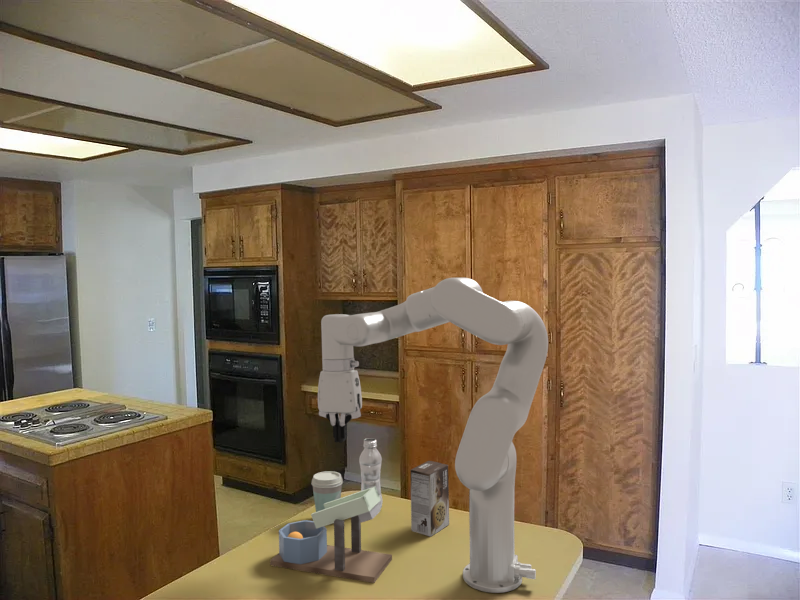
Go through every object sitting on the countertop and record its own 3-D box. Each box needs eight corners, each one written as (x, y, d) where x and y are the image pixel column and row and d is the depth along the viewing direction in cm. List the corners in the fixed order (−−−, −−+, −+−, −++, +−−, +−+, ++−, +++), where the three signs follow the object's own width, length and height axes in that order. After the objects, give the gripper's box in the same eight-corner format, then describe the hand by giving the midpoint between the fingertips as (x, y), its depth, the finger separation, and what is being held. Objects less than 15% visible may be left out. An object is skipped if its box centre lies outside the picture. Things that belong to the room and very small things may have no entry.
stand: (392, 559, 136) (391, 508, 135) (374, 582, 125) (373, 527, 125) (294, 544, 144) (293, 496, 144) (270, 565, 134) (269, 513, 133)
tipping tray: (393, 498, 139) (384, 477, 140) (372, 520, 127) (363, 496, 128) (343, 515, 144) (335, 494, 144) (319, 537, 132) (310, 514, 132)
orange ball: (291, 543, 140) (306, 547, 139) (282, 551, 137) (297, 554, 135) (292, 527, 140) (306, 530, 139) (283, 534, 136) (298, 537, 135)
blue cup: (332, 546, 140) (332, 523, 140) (312, 566, 131) (312, 541, 130) (294, 540, 144) (294, 518, 143) (272, 559, 134) (271, 535, 134)
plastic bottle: (357, 515, 162) (355, 443, 161) (362, 505, 169) (361, 436, 168) (380, 516, 161) (379, 443, 160) (384, 506, 168) (383, 437, 167)
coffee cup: (338, 527, 154) (337, 481, 154) (307, 524, 156) (306, 480, 156) (347, 514, 163) (346, 471, 162) (318, 512, 164) (317, 469, 164)
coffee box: (429, 519, 158) (428, 459, 158) (450, 524, 155) (449, 464, 154) (410, 531, 151) (409, 469, 151) (431, 537, 147) (430, 473, 147)
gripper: (372, 364, 143) (374, 439, 143) (317, 362, 148) (319, 435, 148) (360, 368, 136) (362, 447, 136) (303, 367, 141) (305, 443, 141)
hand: (340, 440), depth 142 cm, fingers closed
